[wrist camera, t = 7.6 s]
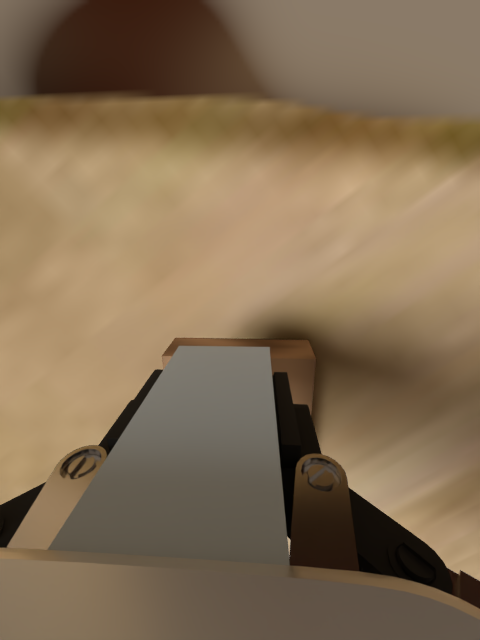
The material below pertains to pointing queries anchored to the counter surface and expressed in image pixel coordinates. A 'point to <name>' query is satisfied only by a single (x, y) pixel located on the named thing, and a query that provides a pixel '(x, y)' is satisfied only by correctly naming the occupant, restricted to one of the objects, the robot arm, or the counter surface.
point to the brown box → (283, 355)
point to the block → (192, 468)
